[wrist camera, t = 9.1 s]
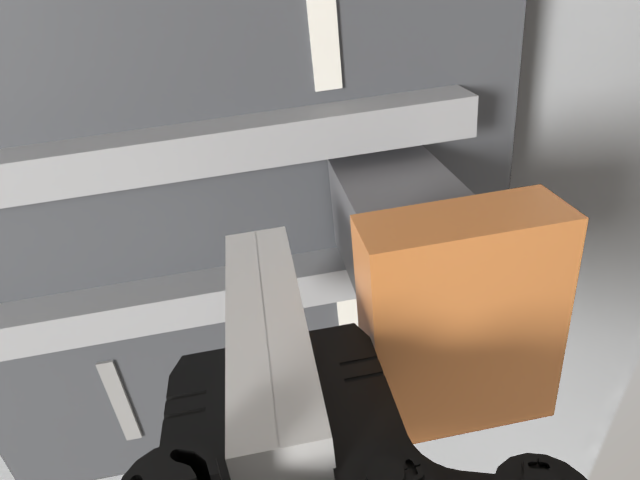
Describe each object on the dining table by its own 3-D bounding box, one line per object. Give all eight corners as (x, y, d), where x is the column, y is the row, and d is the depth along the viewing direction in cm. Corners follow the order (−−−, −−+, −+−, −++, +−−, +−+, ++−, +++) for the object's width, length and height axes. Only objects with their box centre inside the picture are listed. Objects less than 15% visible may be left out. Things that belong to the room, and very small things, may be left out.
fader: (323, 269, 18) (381, 450, 11) (307, 128, 15) (369, 255, 9) (434, 250, 18) (553, 415, 12) (436, 109, 16) (588, 218, 9)
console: (35, 462, 22) (10, 529, 20) (-326, -179, 12) (-485, -219, 9) (476, 377, 24) (506, 427, 22) (519, -246, 13) (589, -296, 11)
